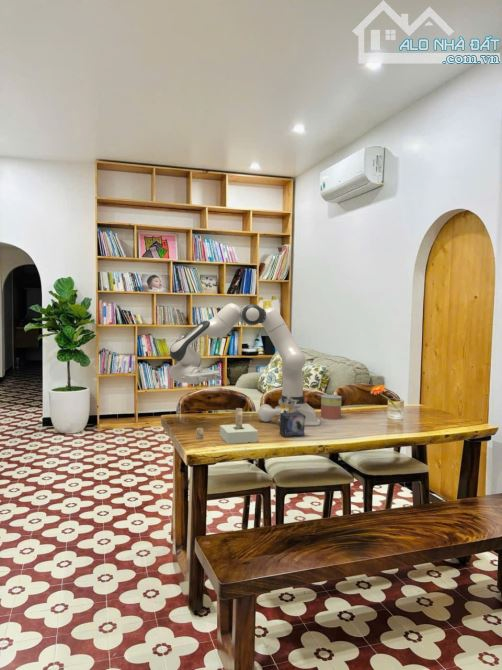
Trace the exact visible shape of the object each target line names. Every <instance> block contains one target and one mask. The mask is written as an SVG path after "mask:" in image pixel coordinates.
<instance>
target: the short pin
mask: <svg viewBox="0 0 502 670" xmlns="http://www.w3.org/2000/svg"><path fill="white" fill-rule="evenodd" d="M195 435H196V440H203V439H204V428H203V427H198V428H197V427H196V434H195Z"/></svg>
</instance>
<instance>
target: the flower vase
mask: <svg viewBox="0 0 502 670" xmlns="http://www.w3.org/2000/svg"><path fill="white" fill-rule="evenodd" d="M285 395H286V394H285ZM286 397H287V400H288V401H287V400H286V401H285V402H284V403H283V402H282V401H281V399H278V405H277V406H275V407H274V408H273V407H272V405H270V404H266V403H265V404H262V405H260V407H259V408H258V409H257V417H258V418H259V419H260V420H261V421H262V422H265V423H266V422H270V421H272V419H273V417H274V416H278V415H280V413H292V411H294V412H299V410H298V409H297V408H299V407H300V404H297V405H296V403H297V401H296V400H295V401H294V400H293V399H292V398H289V397H288V396H287V395H286ZM289 402H291V403H290V405H289V404H288V403H289ZM293 402H294V404H293ZM278 419H280V418H279V417H278Z"/></svg>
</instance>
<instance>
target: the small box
mask: <svg viewBox="0 0 502 670" xmlns="http://www.w3.org/2000/svg"><path fill="white" fill-rule="evenodd" d="M279 416H280V422H279V433H278V434H279V435H280V436H281V437H283V438H295V437H296V438H297V437H299V438H300V437H301V438H302V437H305V425H304V424H305V415H304V414H302V413H301V412H292V413H280V414H279Z"/></svg>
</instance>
